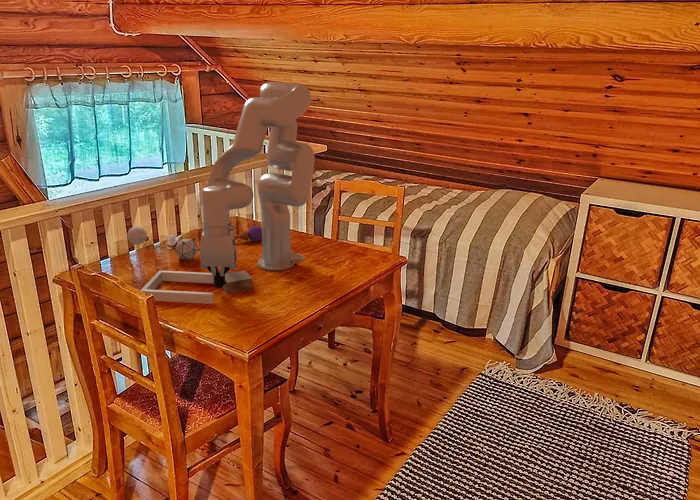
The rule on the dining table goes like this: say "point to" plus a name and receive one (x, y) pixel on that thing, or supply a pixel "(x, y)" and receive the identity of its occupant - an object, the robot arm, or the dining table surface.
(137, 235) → the lollipop
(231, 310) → the dining table surface
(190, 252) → the game die
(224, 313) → the dining table surface
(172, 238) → the teacup and saucer
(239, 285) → the walnut block
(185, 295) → the u-shaped grey frame
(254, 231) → the kendama
